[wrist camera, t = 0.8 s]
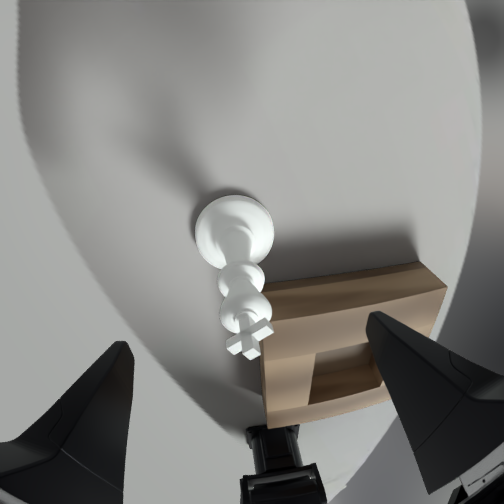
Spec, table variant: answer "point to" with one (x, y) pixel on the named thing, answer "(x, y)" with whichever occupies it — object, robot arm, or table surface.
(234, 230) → the chess piece
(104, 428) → the robot arm
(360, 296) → the tan wooden square block
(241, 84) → the table surface
